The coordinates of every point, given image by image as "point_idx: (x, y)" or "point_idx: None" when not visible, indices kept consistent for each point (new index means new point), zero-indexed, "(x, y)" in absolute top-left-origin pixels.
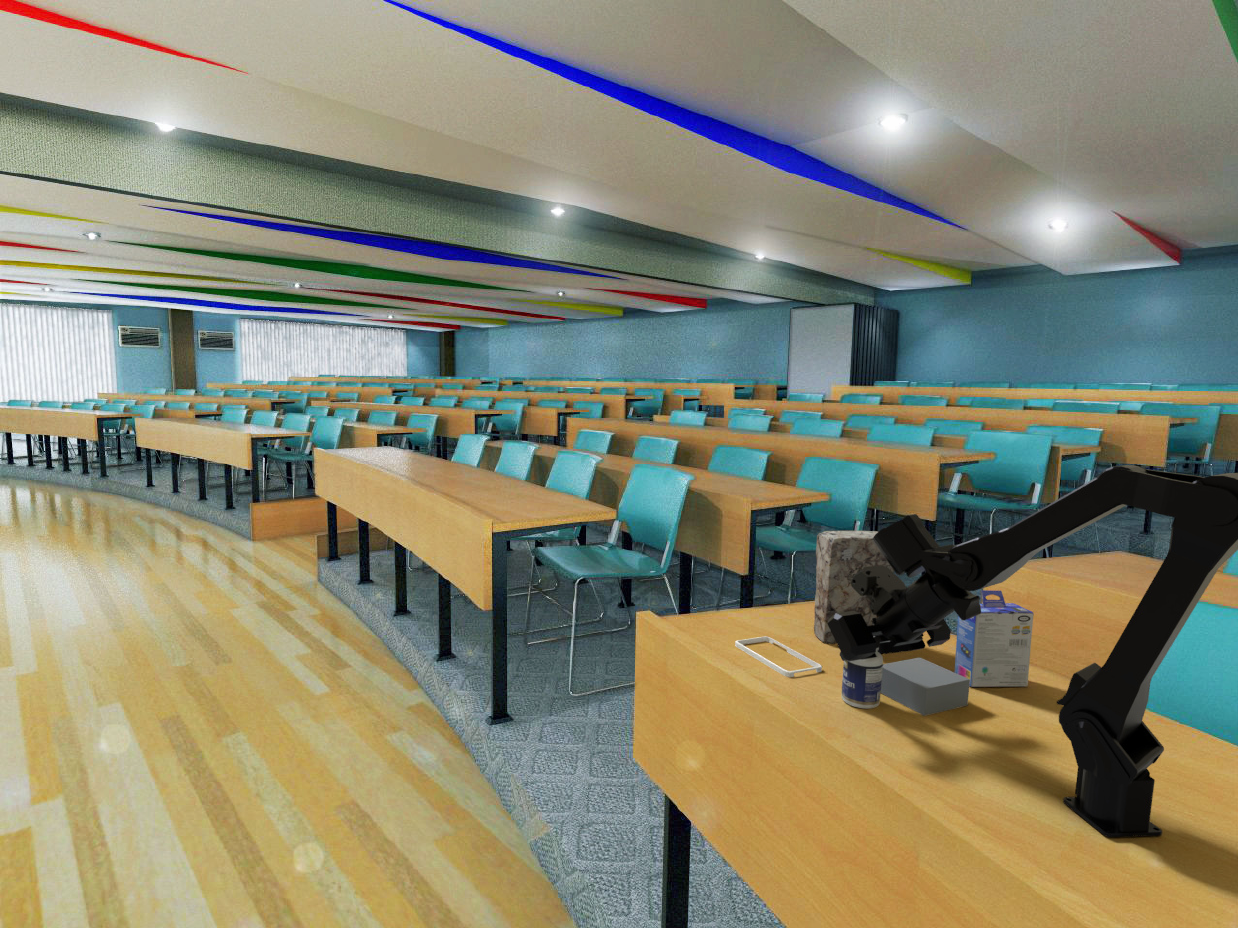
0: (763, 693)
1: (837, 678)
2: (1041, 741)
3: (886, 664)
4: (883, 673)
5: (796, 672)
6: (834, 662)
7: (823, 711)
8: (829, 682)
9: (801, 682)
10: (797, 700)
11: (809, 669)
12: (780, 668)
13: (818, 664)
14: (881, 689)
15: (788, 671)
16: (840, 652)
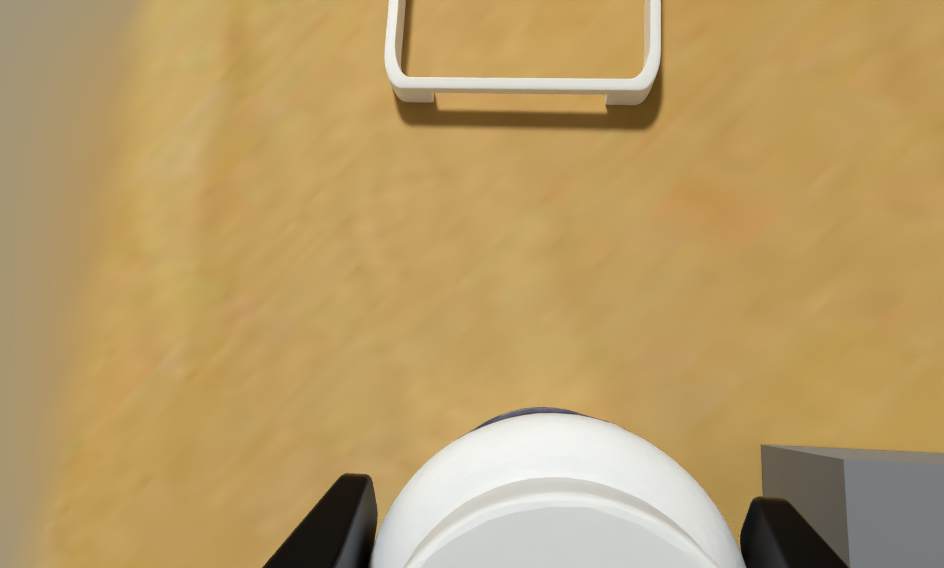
0: (126, 213)
1: (658, 215)
2: None
3: (935, 479)
4: (826, 520)
5: (447, 92)
6: (820, 28)
7: (245, 521)
8: (568, 240)
9: (414, 180)
10: (221, 352)
11: (545, 91)
12: (388, 25)
13: (647, 58)
14: (773, 493)
15: (398, 76)
16: (319, 503)
